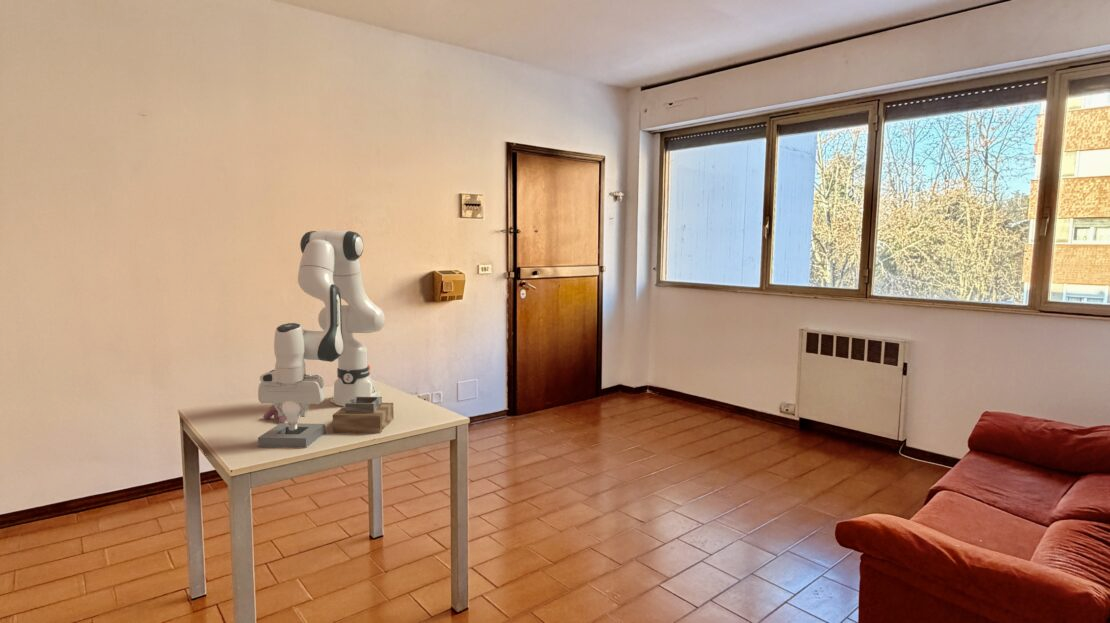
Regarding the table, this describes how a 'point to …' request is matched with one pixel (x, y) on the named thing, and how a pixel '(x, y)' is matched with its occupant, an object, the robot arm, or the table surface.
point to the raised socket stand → (363, 415)
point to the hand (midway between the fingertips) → (292, 416)
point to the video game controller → (274, 412)
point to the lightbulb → (292, 413)
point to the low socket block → (291, 435)
